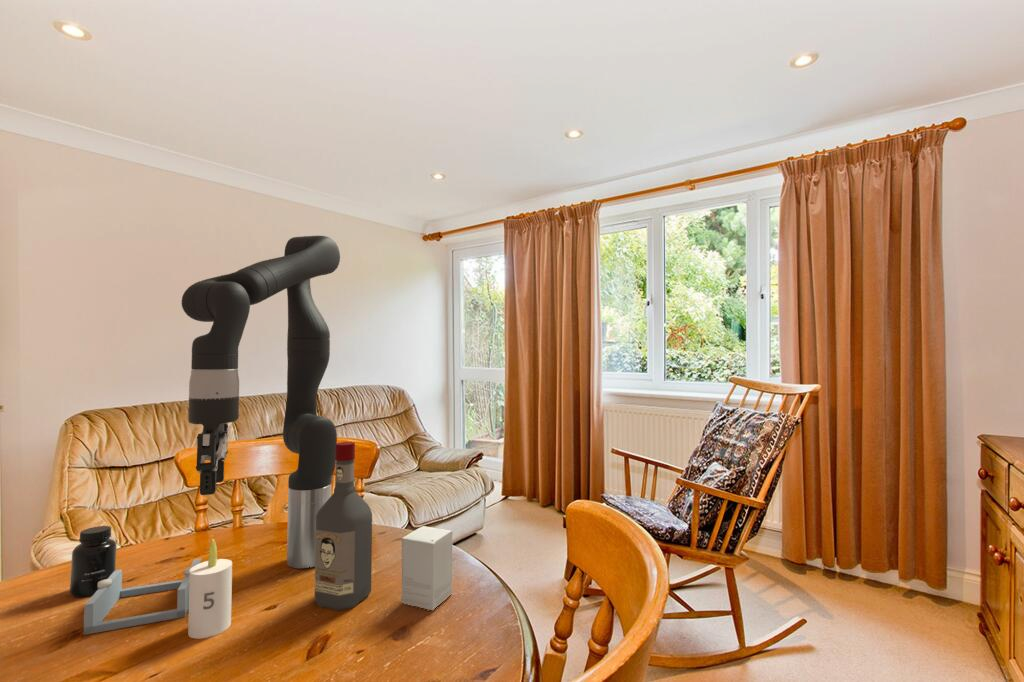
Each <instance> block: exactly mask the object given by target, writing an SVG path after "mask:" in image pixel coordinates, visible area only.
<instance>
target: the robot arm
mask: <svg viewBox="0 0 1024 682" xmlns="http://www.w3.org/2000/svg"><path fill="white" fill-rule="evenodd" d="M340 262H341V252H340V249H339V246H338V245H337V242H336V241H335V240H334V239H333V238H332V237H329V236H325V235H306V236H305V235H304V236H294V237H291V238H289V239H288V240H287V242H286V244H285V247H284V254H283V256H280V257H274V258H269V259H265V260H261V261H257V262H255V263H253V264H251V265H247V266H245V267H243V268H240V269H238V270H237V271H234V272H231V273H226V274H222V275H217V276H215V277H211V278H207V279H203V280H199V281H197V282H194V283H193V284H191V285H190V286H188V288H187V289H186V290H185V291H184V293H183V294H182V297H181V308H182V310H183V312H184V313H185V315H187V317H189V318H190V319H192V320H194V321H197V322H202V323H203V322H204V323H211V322H212V325H211V328H210V330H209V332H208V333H205V334H202V335H199V336H197V337H195V338H194V339H193V341H192V344H191V366H190V367H191V370H190V376H189V382H188V413H187V414H188V415H187V416H188V417H187V418H188V419H187V420H188V423H189V424H191V425H202V426H203V427H202V432H201V433H198V434H197V435H196V441H197V443H196V447H197V448H196V466H195V470H196V472H198V473H199V495H200V496H209V495H211V496H212V495H214V494H215V493H216V491H217V483H222V482H223V481H224V480H225V461H226V458H227V455H228V453H229V450H228V448H229V445H228V444H229V443H228V441H229V440H228V439H229V431H228V428H229V425H228V424H229V423H234V422H237V420H238V419H239V417H240V415H239V414H240V407H239V406H240V378H239V377H240V376H239V347H240V342H241V340H242V337H243V334H244V331H245V327H246V324H247V322H248V318H249V314H250V308H251V306H255V305H256V304H259V303H262V302H263V301H265V300H267V299H269V298H271V297H272V296H275V295H277V294H279V293H280V292H282V291H285V290H286V292H287V293H286V295H287V335H286V336H287V339H286V341H287V343H286V344H287V345H286V352H287V353H286V356H287V375H286V379H287V380H286V385H287V386H286V389H287V390H286V402H285V409H284V419H283V428H282V438H283V439H282V440H283V443H284V446H285V447H286V449H287V450H288V451H290V452H291V453H294V454H297V455H298V462H297V463H298V464H297V469H295V471H293V472H291V473H290V474H289V476H288V484H287V487H288V489H287V491H288V493H287V495H288V496H287V498H288V499H287V539H286V542H287V545H286V550H287V551H286V565H287V566H288V567H290V568H293V569H308V568H309V567H310V568H315V549H316V516H317V513H318V511H319V509H320V508H321V507H322V506H323V505H324V504H325V503H326V501H327V500H328V499H329V498H330V497H331V496H332V477H333V474H334V472H335V471H336V460H335V452H336V443H338V435H337V434H338V433H337V428H336V425H335V424H334V422H333V421H332V420H331V419H329V418H327V417H325V416H320V415H318V412H317V410H318V409H317V407H318V406H317V402H318V401H317V397H318V391H319V387H320V385H321V382H322V379H323V378H324V375H325V373H326V370H327V368H328V365H329V362H330V355H331V352H330V351H331V344H330V343H331V342H330V341H331V339H330V338H331V334H330V330H329V326H328V324H327V322H326V321H325V319H324V317H323V315H322V314H321V312H320V310H319V309H318V307H317V306H316V303H315V301H314V299H313V296H312V288H311V279H314V278H317V277H321V276H325V275H326V276H327V275H329V274H333V273H334V272H335V271H336V270H337V269H338V267H339V265H340ZM206 461H209V462H206Z"/></svg>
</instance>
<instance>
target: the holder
mask: <svg viewBox="0 0 1024 682" xmlns="http://www.w3.org/2000/svg"><path fill="white" fill-rule="evenodd" d="M199 563H202V558H195V559H193V561H192V562H191V565H190V566H189V567H186V568H184V570H183V575H184V577H183V579H180V580H179V579H178V580H173V581H166V582H159V583H153V584H147V585H140V586H139V585H138V586H133V587H128V588H123V586H122V584H123V569H117V570H116V569H115V571H114V572H113V573H112V574H111V575H110V576H109V578H108V579H105V580H102V581H99V582H98V588H99V589H98V590H97V591H96V592H95V594H94V595H93V596H90V598H89V599H88V600H87V601H86V603H85V604H84V607H83V608H84V609H83V610H84V613H83V636H85V635H90V634H96V633H102V632H106V631H113V630H119V629H124V628H131V627H136V626H141V625H146V624H152V623H157V622H158V623H159V622H162V621H168V620H174V619H180V618H185V617H186V615H187V613H188V612H189V576H190V569H191V568H192V567H193V566H195V565H197V564H199ZM170 590H177V597H176V598H177V600H176V601H177V602H176V605H177V607H176V608H175V609H169V610H162V611H157V612H151V613H146V614H140V615H135V616H129V617H123V618H117V619H111V620H104V619H105V617H106V616H107V615H108V614H109V612H110V611H111V610H112V608H113V607H114V606H115V605H116V603H117V602H118V601H119V599H121V598H127V597H132V596H133V597H135V596H139V595H144V594H146V595H147V594H151V593H158V592H163V591H170ZM103 620H104V621H103Z"/></svg>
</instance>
